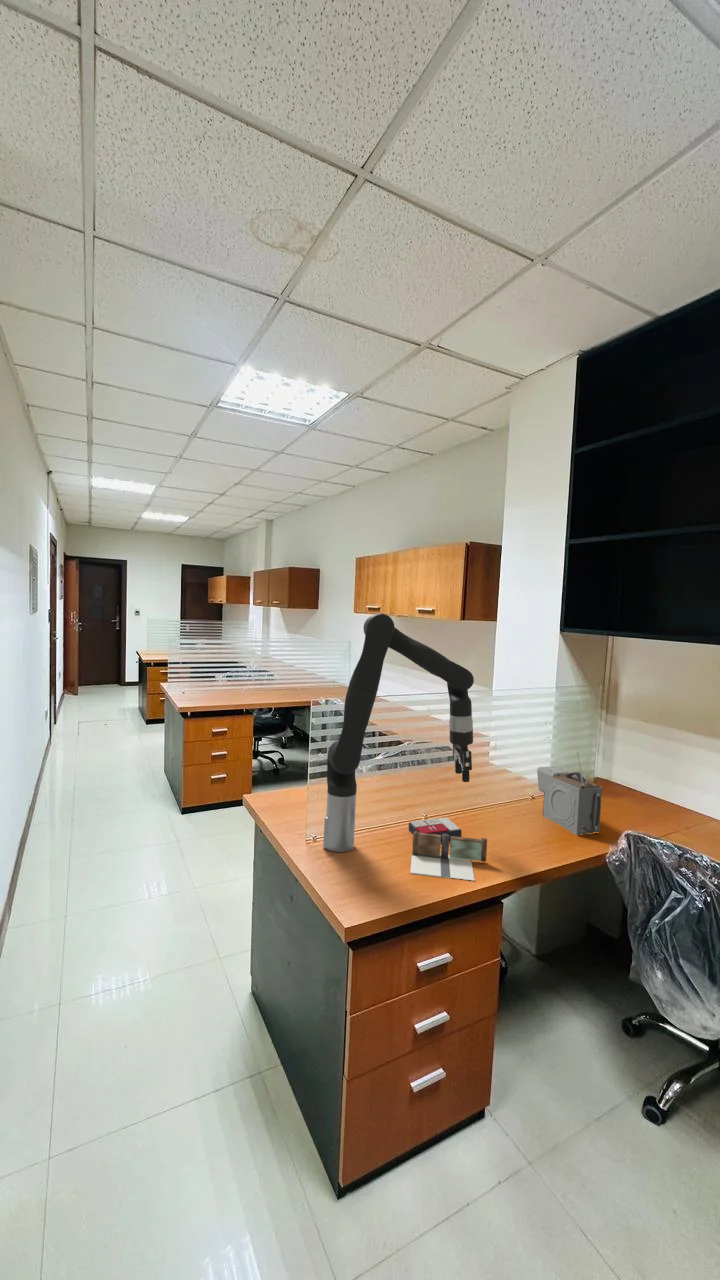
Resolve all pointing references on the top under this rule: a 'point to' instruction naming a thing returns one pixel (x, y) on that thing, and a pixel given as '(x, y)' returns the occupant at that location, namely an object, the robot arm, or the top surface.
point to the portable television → (570, 799)
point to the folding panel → (468, 848)
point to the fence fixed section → (430, 844)
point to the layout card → (442, 867)
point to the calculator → (435, 827)
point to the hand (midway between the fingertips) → (462, 777)
